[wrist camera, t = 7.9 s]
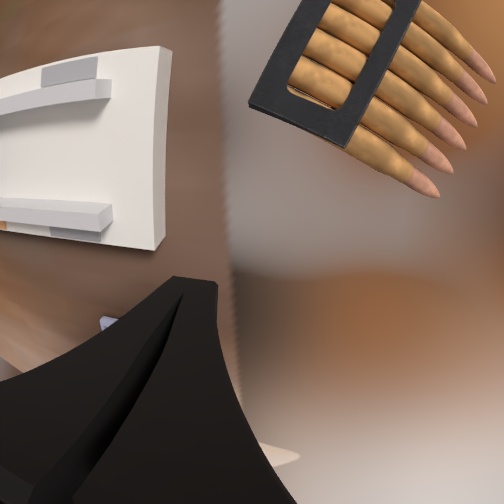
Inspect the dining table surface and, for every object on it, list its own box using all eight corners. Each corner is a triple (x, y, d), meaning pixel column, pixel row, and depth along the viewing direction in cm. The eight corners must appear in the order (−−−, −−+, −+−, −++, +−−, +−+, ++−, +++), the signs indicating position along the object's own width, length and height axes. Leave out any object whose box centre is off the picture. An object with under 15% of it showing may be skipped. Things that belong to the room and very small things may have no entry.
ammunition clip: (247, 105, 14) (424, 204, 17) (245, 105, 13) (438, 216, 15) (330, -45, 10) (490, 72, 12) (338, -58, 8) (508, 72, 10)
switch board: (165, 235, 18) (144, 264, 15) (-14, 216, 19) (-41, 233, 15) (172, 51, 13) (147, 40, 10) (-24, 92, 13) (-55, 99, 10)
